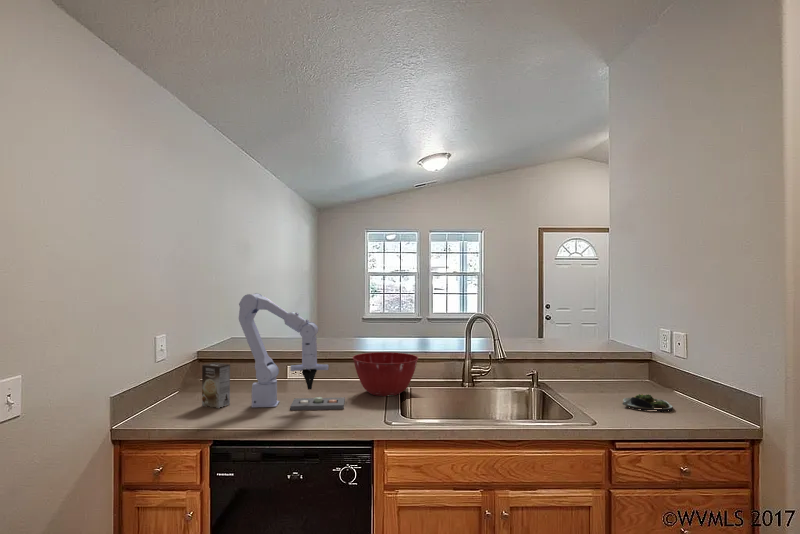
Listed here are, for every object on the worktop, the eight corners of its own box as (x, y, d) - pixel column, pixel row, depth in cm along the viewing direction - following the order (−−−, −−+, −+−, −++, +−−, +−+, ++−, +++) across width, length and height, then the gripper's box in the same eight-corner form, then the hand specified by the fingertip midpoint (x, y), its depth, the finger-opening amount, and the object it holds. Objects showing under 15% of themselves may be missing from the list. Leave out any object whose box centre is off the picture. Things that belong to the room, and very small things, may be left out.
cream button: (299, 406, 199) (299, 402, 200) (300, 404, 203) (300, 400, 203) (307, 406, 200) (307, 402, 200) (308, 404, 203) (308, 400, 203)
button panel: (290, 410, 195) (290, 406, 195) (294, 402, 207) (294, 398, 207) (343, 409, 196) (343, 405, 196) (344, 401, 208) (344, 397, 208)
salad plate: (617, 398, 213) (616, 387, 213) (664, 401, 208) (664, 390, 208) (623, 411, 194) (623, 398, 194) (676, 414, 189) (676, 401, 189)
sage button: (313, 403, 200) (313, 399, 200) (314, 401, 203) (314, 397, 203) (322, 403, 200) (322, 399, 200) (322, 401, 203) (322, 397, 203)
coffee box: (200, 406, 201) (200, 364, 201) (213, 402, 207) (213, 362, 207) (218, 408, 197) (218, 366, 198) (230, 404, 203) (230, 363, 203)
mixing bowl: (420, 386, 236) (420, 352, 236) (416, 401, 207) (416, 363, 207) (359, 384, 238) (359, 351, 239) (346, 400, 210) (346, 362, 210)
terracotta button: (328, 406, 200) (328, 401, 200) (328, 404, 203) (328, 399, 203) (336, 405, 200) (336, 401, 200) (337, 403, 204) (337, 399, 204)
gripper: (289, 356, 197) (289, 391, 197) (327, 355, 198) (327, 390, 198) (291, 353, 204) (292, 387, 204) (328, 352, 205) (329, 386, 205)
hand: (309, 388), depth 201 cm, fingers closed
